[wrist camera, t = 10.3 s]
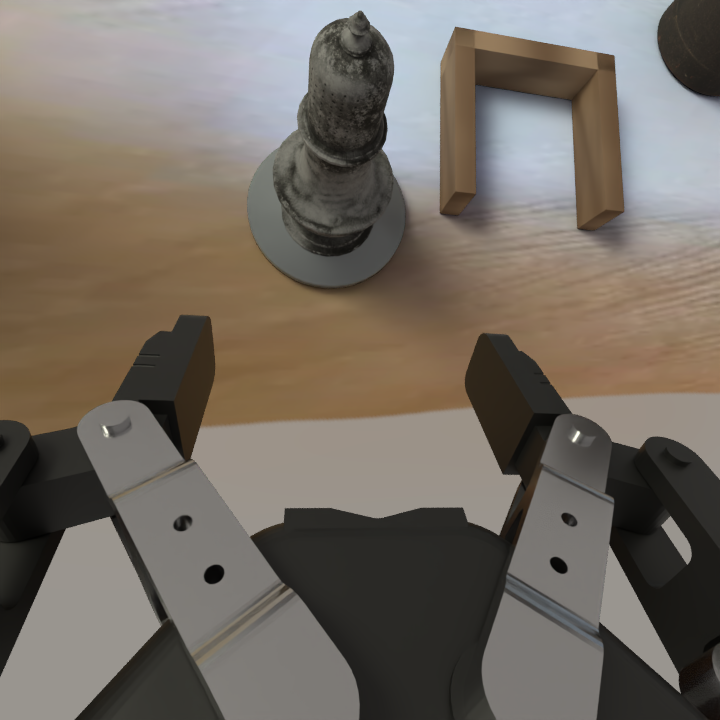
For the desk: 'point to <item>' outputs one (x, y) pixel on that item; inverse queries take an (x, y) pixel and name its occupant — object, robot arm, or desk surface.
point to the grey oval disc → (312, 266)
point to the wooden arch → (543, 77)
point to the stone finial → (338, 142)
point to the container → (692, 43)
